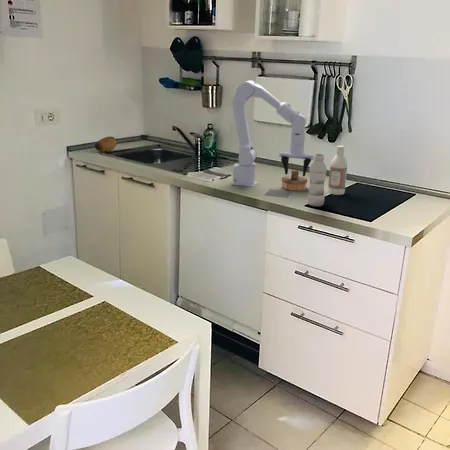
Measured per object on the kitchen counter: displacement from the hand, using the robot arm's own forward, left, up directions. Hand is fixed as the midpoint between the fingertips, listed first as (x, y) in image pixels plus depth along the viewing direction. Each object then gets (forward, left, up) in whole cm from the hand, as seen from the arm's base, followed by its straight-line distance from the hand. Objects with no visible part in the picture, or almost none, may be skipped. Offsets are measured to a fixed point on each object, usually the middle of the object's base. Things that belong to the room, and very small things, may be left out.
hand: (295, 174), depth 226 cm
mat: (-4, -12, -6) cm, 14 cm away
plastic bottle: (+13, -22, -6) cm, 26 cm away
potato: (-112, +33, -6) cm, 117 cm away
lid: (0, -1, -2) cm, 3 cm away
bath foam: (+18, 0, -6) cm, 19 cm away
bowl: (0, 0, -6) cm, 6 cm away
